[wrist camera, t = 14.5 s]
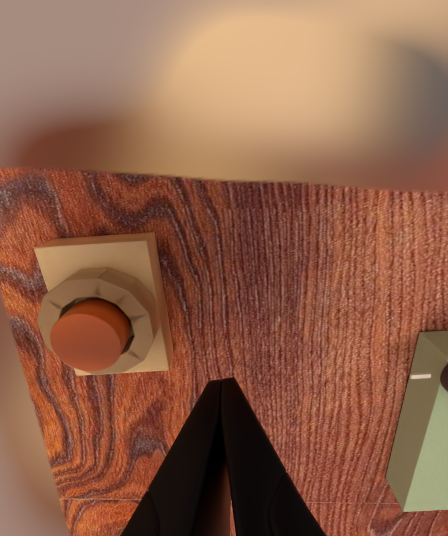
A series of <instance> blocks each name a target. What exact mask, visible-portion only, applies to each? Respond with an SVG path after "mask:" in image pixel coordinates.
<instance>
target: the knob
mask: <svg viewBox="0 0 448 536" xmlns="http://www.w3.org/2000/svg"><path fill="white" fill-rule="evenodd" d="M440 382H441V385H442V387H443V388H444V389H445V390H446V391H447V392H448V364H447V365H446V366H445V367H444V369H443V370H442V372H441V375H440Z"/></svg>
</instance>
